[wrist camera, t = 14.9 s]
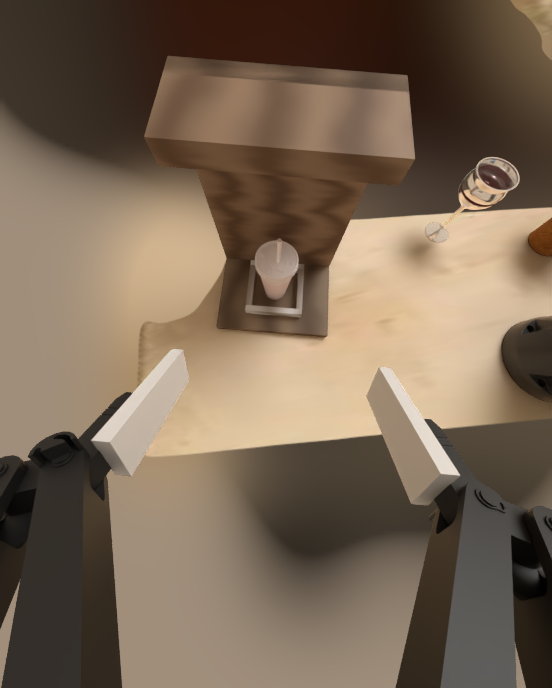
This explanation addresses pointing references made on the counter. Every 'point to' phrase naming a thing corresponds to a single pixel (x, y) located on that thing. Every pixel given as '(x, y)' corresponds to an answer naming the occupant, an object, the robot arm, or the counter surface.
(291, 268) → the smoothie
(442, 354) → the counter surface
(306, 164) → the overhang shelf
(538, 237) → the disposable coffee cup
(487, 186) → the wineglass
